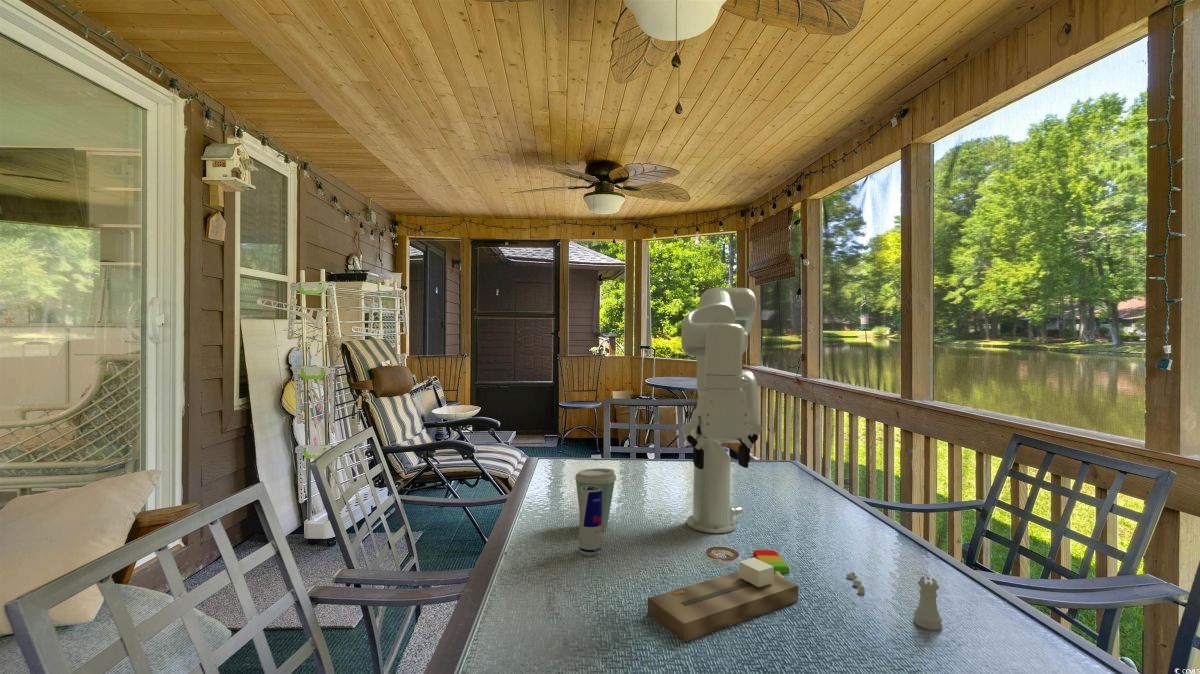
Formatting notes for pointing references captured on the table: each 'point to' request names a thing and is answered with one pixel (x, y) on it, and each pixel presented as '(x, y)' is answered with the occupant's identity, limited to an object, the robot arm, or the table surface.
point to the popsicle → (772, 560)
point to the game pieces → (856, 582)
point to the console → (718, 604)
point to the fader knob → (756, 572)
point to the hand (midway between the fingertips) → (721, 467)
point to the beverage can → (590, 519)
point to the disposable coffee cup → (604, 480)
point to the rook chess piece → (928, 605)
